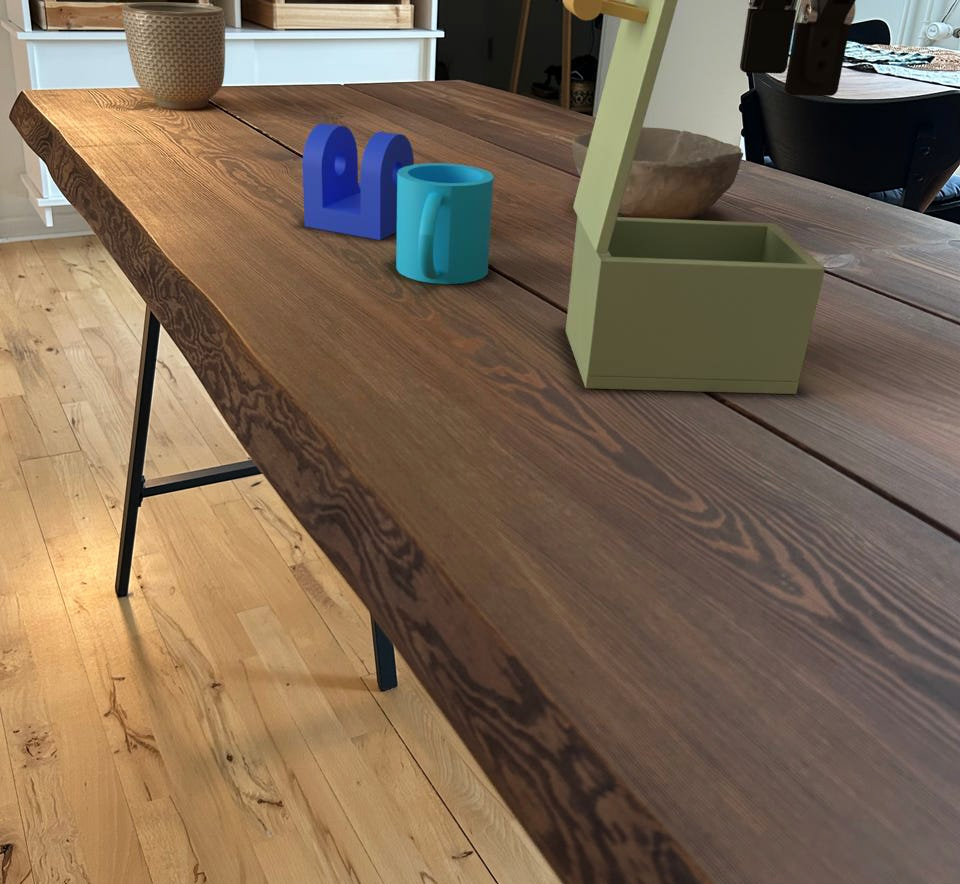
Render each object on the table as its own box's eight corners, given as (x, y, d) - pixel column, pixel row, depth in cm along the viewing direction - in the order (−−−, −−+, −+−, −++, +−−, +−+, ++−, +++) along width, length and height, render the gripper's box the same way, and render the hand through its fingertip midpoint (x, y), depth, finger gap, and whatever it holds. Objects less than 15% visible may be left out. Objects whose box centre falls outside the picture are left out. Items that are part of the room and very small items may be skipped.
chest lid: (646, -30, 67) (566, -50, 66) (683, -19, 57) (590, -42, 57) (583, 210, 75) (511, 195, 74) (607, 254, 65) (524, 237, 64)
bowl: (599, 187, 121) (607, 115, 117) (747, 212, 115) (761, 136, 110) (539, 220, 107) (546, 139, 103) (704, 250, 101) (718, 165, 96)
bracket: (380, 240, 98) (380, 140, 93) (304, 226, 100) (301, 129, 95) (458, 200, 112) (461, 112, 107) (390, 189, 114) (391, 103, 110)
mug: (407, 251, 95) (409, 159, 91) (495, 260, 94) (500, 168, 90) (374, 292, 85) (374, 191, 80) (472, 302, 84) (477, 201, 80)
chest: (752, 337, 80) (775, 223, 76) (796, 394, 71) (825, 268, 67) (565, 331, 79) (577, 215, 75) (585, 388, 70) (600, 259, 65)
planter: (200, 94, 159) (193, 1, 152) (249, 109, 150) (243, 11, 144) (115, 101, 151) (103, 2, 144) (161, 117, 142) (151, 13, 135)
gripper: (973, -255, 52) (893, 106, 61) (846, -220, 67) (796, 66, 75) (828, -262, 51) (769, 104, 60) (732, -225, 66) (696, 64, 75)
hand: (784, 82), depth 68 cm, fingers open, 9 cm apart
